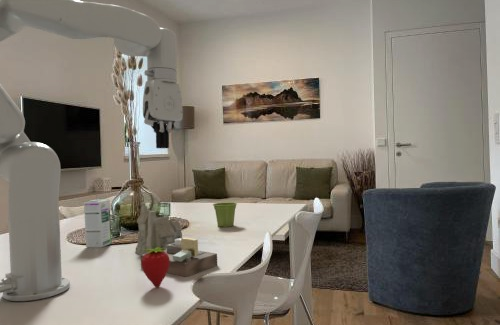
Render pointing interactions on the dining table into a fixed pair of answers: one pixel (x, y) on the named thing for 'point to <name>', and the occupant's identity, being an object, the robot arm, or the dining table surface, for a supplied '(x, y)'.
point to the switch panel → (189, 261)
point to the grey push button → (178, 242)
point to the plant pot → (225, 213)
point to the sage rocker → (182, 255)
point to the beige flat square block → (190, 245)
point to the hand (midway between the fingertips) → (162, 148)
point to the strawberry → (155, 265)
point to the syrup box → (97, 223)
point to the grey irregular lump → (155, 231)
